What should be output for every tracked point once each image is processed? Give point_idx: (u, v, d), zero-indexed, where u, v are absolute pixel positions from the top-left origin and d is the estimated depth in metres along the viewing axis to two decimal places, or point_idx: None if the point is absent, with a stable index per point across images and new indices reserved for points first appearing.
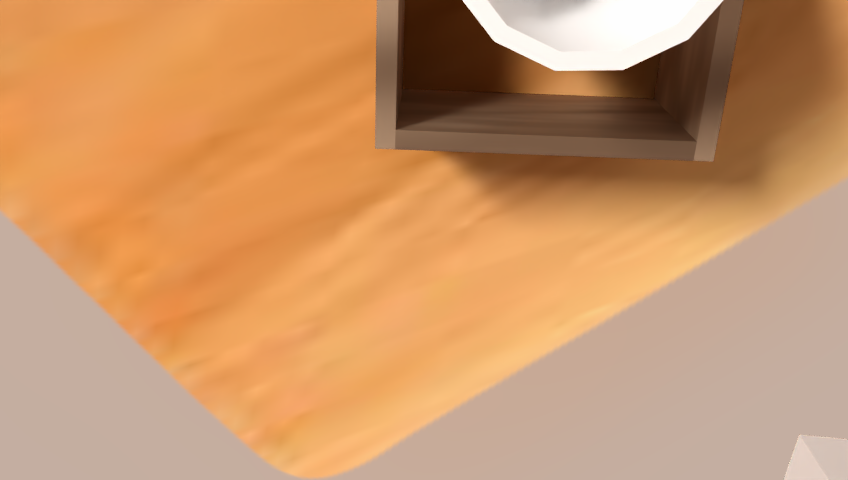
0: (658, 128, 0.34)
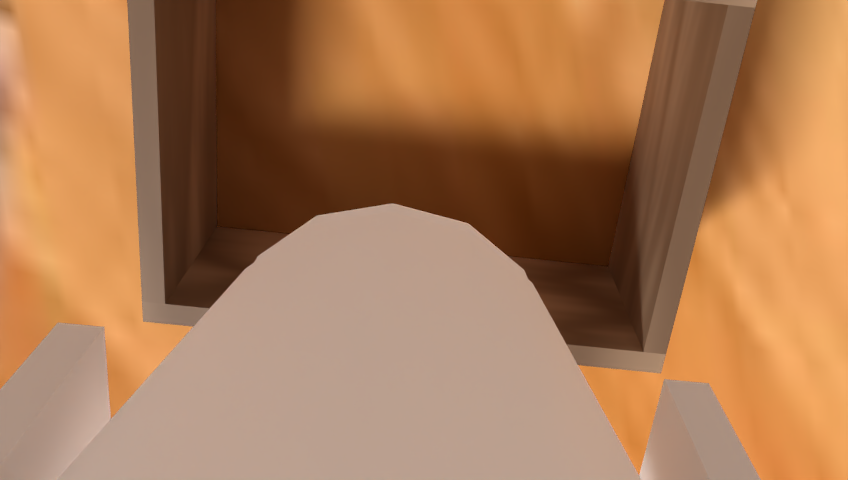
0: (702, 32, 0.26)
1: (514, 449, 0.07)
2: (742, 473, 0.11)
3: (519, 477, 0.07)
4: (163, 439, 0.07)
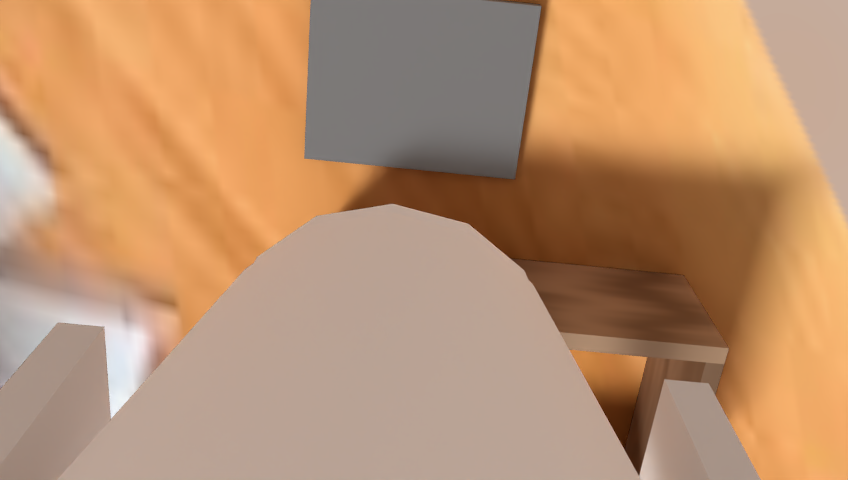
0: (688, 362, 0.37)
1: (514, 451, 0.07)
2: (742, 473, 0.11)
3: (519, 479, 0.07)
4: (162, 441, 0.07)
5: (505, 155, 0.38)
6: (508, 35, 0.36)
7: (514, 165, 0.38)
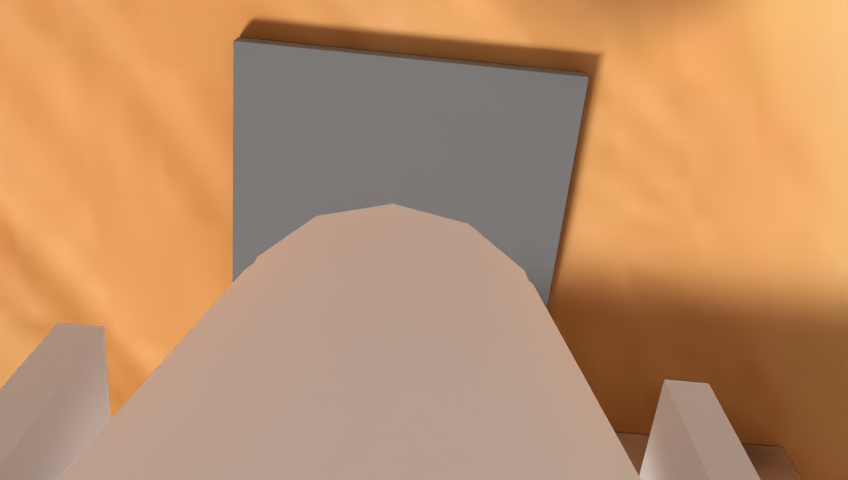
0: None
1: (514, 451, 0.07)
2: (742, 473, 0.11)
3: (519, 479, 0.07)
4: (161, 441, 0.07)
5: None
6: (537, 120, 0.23)
7: None
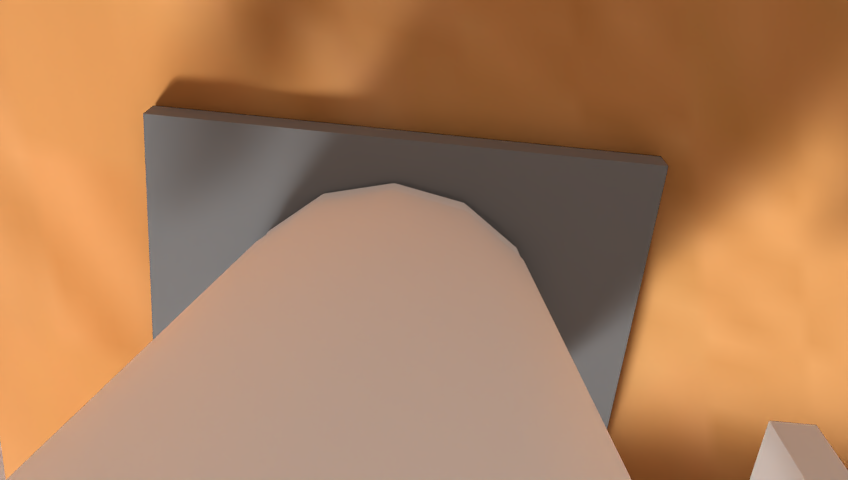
0: None
1: (480, 379, 0.08)
2: None
3: (481, 400, 0.08)
4: (174, 364, 0.08)
5: None
6: (590, 225, 0.16)
7: None
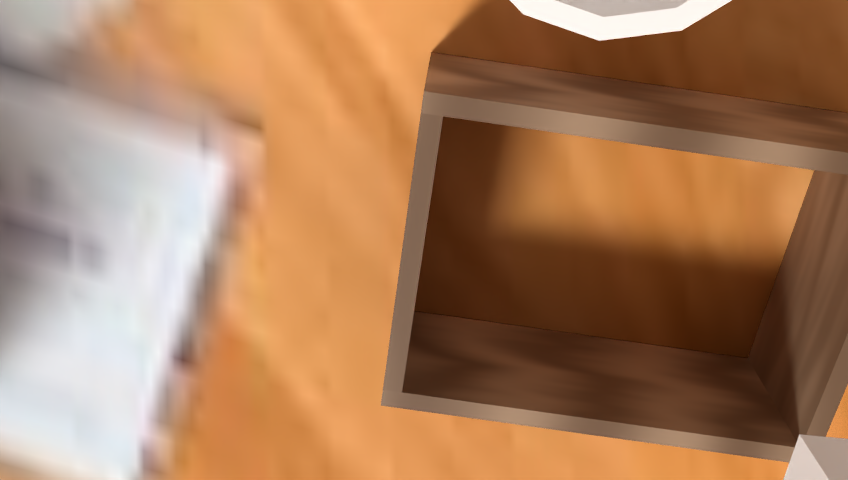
0: None
1: None
2: None
3: None
4: None
5: None
6: None
7: None
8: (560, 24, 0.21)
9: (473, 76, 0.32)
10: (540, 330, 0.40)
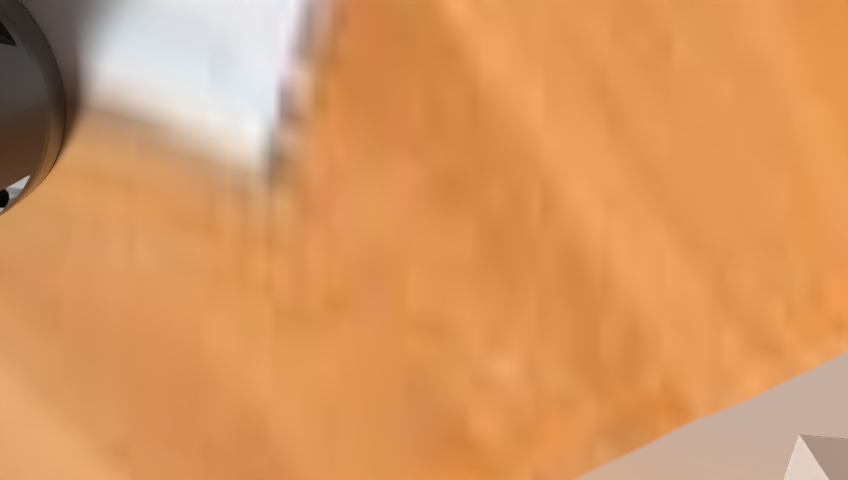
0: None
1: None
2: None
3: None
4: None
5: None
6: None
7: None
8: None
9: None
10: None
